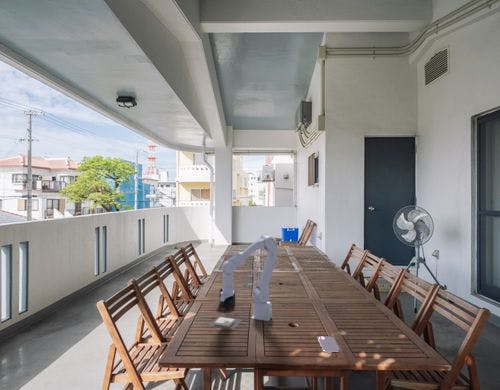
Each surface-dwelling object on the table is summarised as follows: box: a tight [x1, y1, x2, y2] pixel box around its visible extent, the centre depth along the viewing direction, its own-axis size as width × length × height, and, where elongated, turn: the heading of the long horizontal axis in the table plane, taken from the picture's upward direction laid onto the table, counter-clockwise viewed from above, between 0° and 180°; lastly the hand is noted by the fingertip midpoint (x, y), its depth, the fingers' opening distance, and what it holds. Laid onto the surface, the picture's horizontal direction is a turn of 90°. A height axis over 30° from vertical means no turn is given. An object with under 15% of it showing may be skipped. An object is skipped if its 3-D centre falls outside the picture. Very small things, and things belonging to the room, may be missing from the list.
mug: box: [218, 287, 236, 308], centre depth 196 cm, size 9×12×9 cm
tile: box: [215, 316, 235, 327], centre depth 170 cm, size 8×1×7 cm
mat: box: [208, 315, 243, 330], centre depth 171 cm, size 14×13×1 cm
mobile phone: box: [317, 335, 340, 354], centre depth 148 cm, size 8×1×15 cm
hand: (227, 310), depth 173 cm, fingers closed
